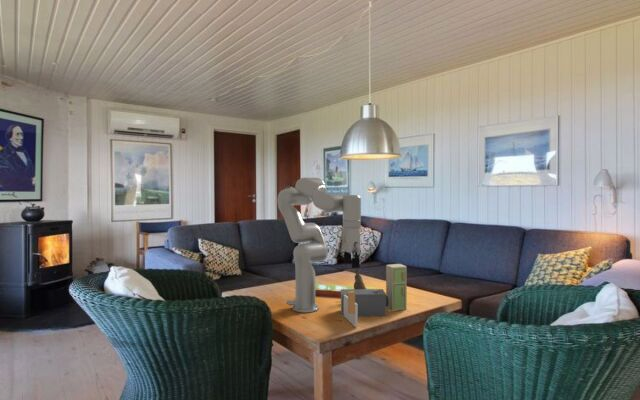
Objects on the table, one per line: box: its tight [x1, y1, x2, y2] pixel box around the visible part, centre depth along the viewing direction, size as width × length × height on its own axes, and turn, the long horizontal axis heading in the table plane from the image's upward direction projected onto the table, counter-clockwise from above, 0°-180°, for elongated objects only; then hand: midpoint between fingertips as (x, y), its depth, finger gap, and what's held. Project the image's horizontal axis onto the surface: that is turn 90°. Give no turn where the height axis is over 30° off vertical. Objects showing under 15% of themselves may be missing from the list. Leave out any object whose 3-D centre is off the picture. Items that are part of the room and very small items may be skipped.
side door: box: [342, 291, 359, 328], centre depth 174 cm, size 15×3×14 cm, turn 16°
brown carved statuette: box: [353, 268, 367, 289], centre depth 205 cm, size 12×6×18 cm, turn 34°
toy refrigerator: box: [385, 263, 408, 312], centre depth 193 cm, size 8×7×21 cm
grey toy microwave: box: [340, 288, 389, 317], centre depth 187 cm, size 22×9×11 cm, turn 91°
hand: (351, 265), depth 167 cm, fingers open, 9 cm apart
